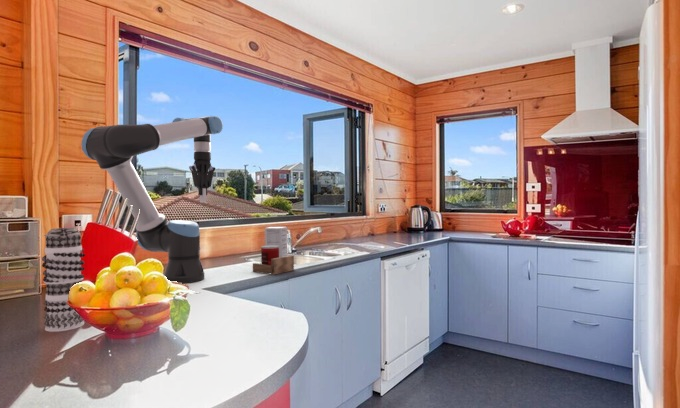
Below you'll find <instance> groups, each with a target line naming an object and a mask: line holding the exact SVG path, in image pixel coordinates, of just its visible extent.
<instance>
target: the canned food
mask: <svg viewBox="0 0 680 408" xmlns="http://www.w3.org/2000/svg"><path fill="white" fill-rule="evenodd" d="M260 249H261V250H260V251H261V252H260V253H261V254H260V255H261V257H260V260H261V262H260V264H266V265H271V259H273V258H279V246H277V245H266V246H265V245H261V248H260Z"/></svg>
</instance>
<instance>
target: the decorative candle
mask: <svg viewBox="0 0 680 408" xmlns="http://www.w3.org/2000/svg"><path fill="white" fill-rule="evenodd" d="M43 237H44V238H45V247H44V254H45V255H44V256H42V257H41V260H42V261H41V262H42V264H41V267H42V268H44V269H45V270H43V271H42V275H43V276H44V277H43V279H42V281H43V284H45V285H46V287H45V289H46V293H45V301H44V302H43V305H44V306H45V307H44V309H43V310H44V312H46V313H45V314H44V316H43V318H44V319H45V320H44V323H43V324H44V326H45V328H44V331H46V332H50V333H55V332H57V333H58V332H66V331H71V330H75V329H78V328H80V327H83V326H84V325H85V320H83V319H82V318H81V317H80V315H79V314H78V313H77V312H76V311H75V310H74V309H73V308H71V307H70V306H69V305H68V304H67V301H68V295H69V291H70V288H71V287H72V286H73V285H74V284H76V283H79V282H82V283H83V280H84V278H85V275H84V274H82V272H83V271H84V270H85V269H86V268H85V267H84V266H83V265H85V261H84V260H83V259H82V258H84V257H85V256H86V253H83V251H85V250H86V249H84V248H83V245H82V233H80V231H79V230H78V229H77V228H75V227H59V228H58V227H57V228H51V229H49V231H47V233H46V234H44V235H43Z"/></svg>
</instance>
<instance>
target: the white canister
mask: <svg viewBox="0 0 680 408" xmlns="http://www.w3.org/2000/svg"><path fill="white" fill-rule="evenodd" d="M264 243H265V244H264V246H266V245H277V246H279V257H285V256H288V226H269V227H265V228H264Z"/></svg>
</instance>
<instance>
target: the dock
mask: <svg viewBox="0 0 680 408" xmlns="http://www.w3.org/2000/svg"><path fill="white" fill-rule="evenodd" d="M294 260H295V257H294V255H293V254H292V255H287V256H285V257H279V258H273V259H271V265H266V264H261V263H258V262H254V263H252V272H254V271H255V272H254V273H260V272H263V273H262V274H267V273H271V274H270V275H277V274H282V273H287V272H292V271H295V266H294V265H295V264H294V263H295V261H294Z"/></svg>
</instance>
